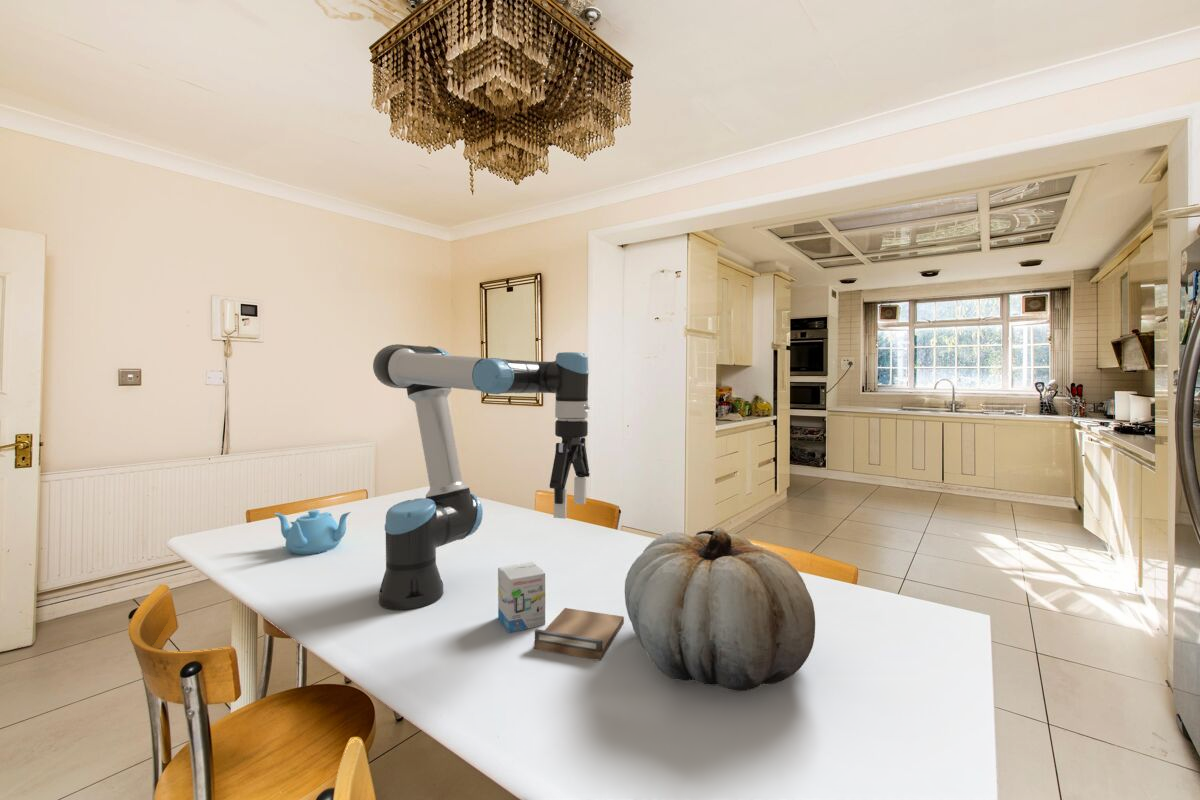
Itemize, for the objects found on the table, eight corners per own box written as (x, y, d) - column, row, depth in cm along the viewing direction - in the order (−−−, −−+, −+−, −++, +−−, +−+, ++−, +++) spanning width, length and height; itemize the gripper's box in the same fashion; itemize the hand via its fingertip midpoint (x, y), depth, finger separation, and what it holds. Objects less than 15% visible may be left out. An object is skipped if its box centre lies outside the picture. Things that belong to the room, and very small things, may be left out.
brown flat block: (534, 648, 101) (534, 631, 101) (565, 614, 116) (565, 599, 116) (600, 660, 96) (600, 642, 96) (623, 623, 112) (623, 607, 111)
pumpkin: (586, 636, 106) (586, 517, 105) (716, 600, 124) (716, 498, 123) (704, 745, 74) (705, 575, 73) (857, 675, 91) (859, 538, 91)
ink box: (508, 633, 107) (508, 579, 107) (497, 617, 115) (497, 566, 114) (546, 624, 111) (546, 572, 111) (533, 609, 119) (532, 560, 118)
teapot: (292, 561, 152) (291, 521, 151) (274, 548, 164) (273, 510, 164) (351, 548, 164) (351, 510, 164) (331, 536, 177) (330, 501, 177)
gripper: (568, 424, 104) (567, 526, 105) (602, 416, 128) (600, 499, 129) (534, 422, 106) (533, 522, 107) (574, 415, 130) (573, 497, 131)
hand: (570, 510), depth 118 cm, fingers open, 13 cm apart
